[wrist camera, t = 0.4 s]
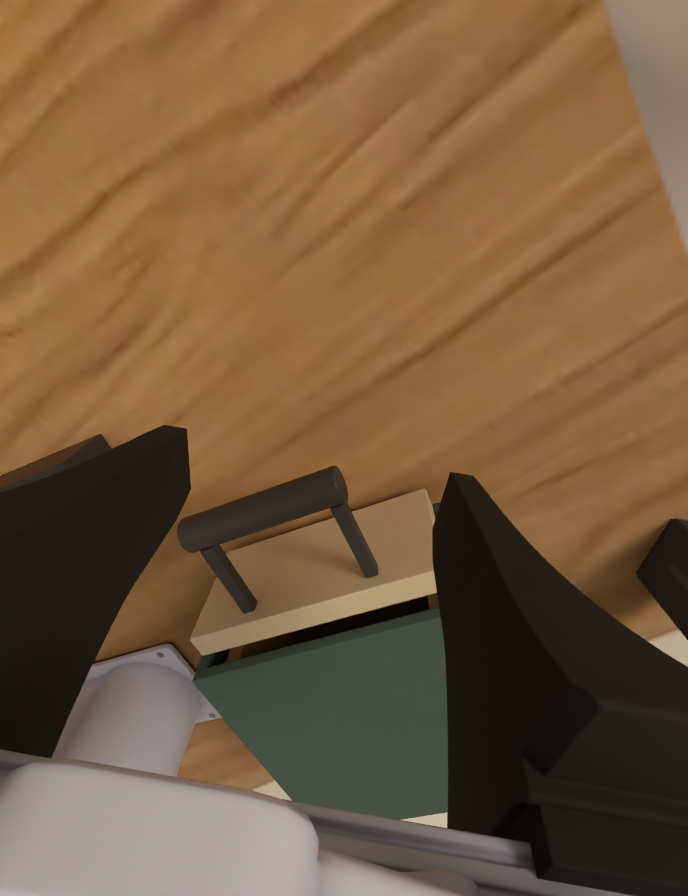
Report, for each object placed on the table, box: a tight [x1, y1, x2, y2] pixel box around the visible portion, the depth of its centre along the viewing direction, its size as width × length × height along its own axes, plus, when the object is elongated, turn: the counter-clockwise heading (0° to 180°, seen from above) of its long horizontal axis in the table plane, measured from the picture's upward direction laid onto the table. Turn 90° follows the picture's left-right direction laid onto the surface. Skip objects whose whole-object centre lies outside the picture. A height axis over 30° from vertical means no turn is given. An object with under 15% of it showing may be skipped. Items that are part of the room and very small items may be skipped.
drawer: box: [177, 466, 439, 663], centre depth 23 cm, size 19×12×6 cm, turn 23°
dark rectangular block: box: [0, 434, 111, 492], centre depth 23 cm, size 4×7×4 cm, turn 113°
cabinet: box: [192, 503, 448, 820], centre depth 25 cm, size 14×13×8 cm
